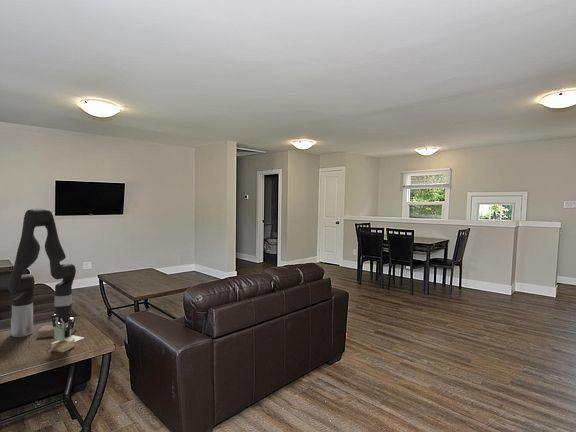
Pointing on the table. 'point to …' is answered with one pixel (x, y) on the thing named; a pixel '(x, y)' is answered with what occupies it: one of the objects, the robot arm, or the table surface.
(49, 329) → the brick
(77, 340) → the page
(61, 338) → the green block
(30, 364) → the table surface
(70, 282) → the robot arm
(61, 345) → the base block
